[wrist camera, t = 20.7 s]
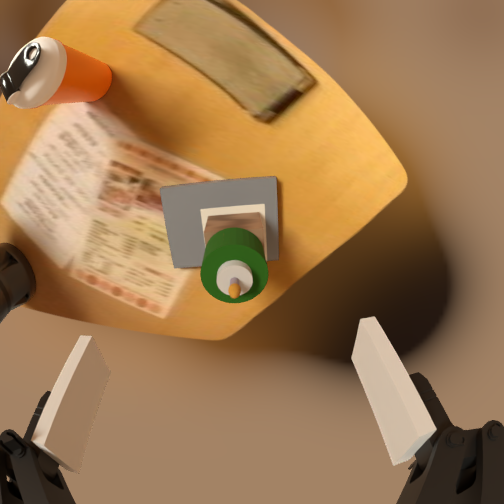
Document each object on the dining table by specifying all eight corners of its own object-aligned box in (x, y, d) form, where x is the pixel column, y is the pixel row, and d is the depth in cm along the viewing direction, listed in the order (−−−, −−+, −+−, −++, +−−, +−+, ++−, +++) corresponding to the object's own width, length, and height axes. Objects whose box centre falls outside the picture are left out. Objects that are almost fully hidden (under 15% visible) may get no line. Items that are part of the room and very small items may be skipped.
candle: (253, 219, 38) (260, 252, 29) (271, 271, 41) (281, 314, 32) (195, 238, 38) (184, 276, 29) (217, 287, 42) (213, 332, 33)
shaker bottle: (127, 77, 35) (59, 56, 17) (91, 117, 37) (12, 126, 19) (98, 47, 31) (26, 20, 13) (64, 87, 34) (-16, 84, 16)
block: (213, 261, 48) (210, 283, 41) (208, 215, 44) (203, 232, 38) (261, 257, 48) (265, 279, 42) (259, 211, 44) (263, 228, 38)
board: (175, 264, 49) (174, 268, 48) (162, 186, 43) (159, 189, 42) (277, 255, 50) (279, 260, 48) (275, 176, 44) (276, 178, 42)
